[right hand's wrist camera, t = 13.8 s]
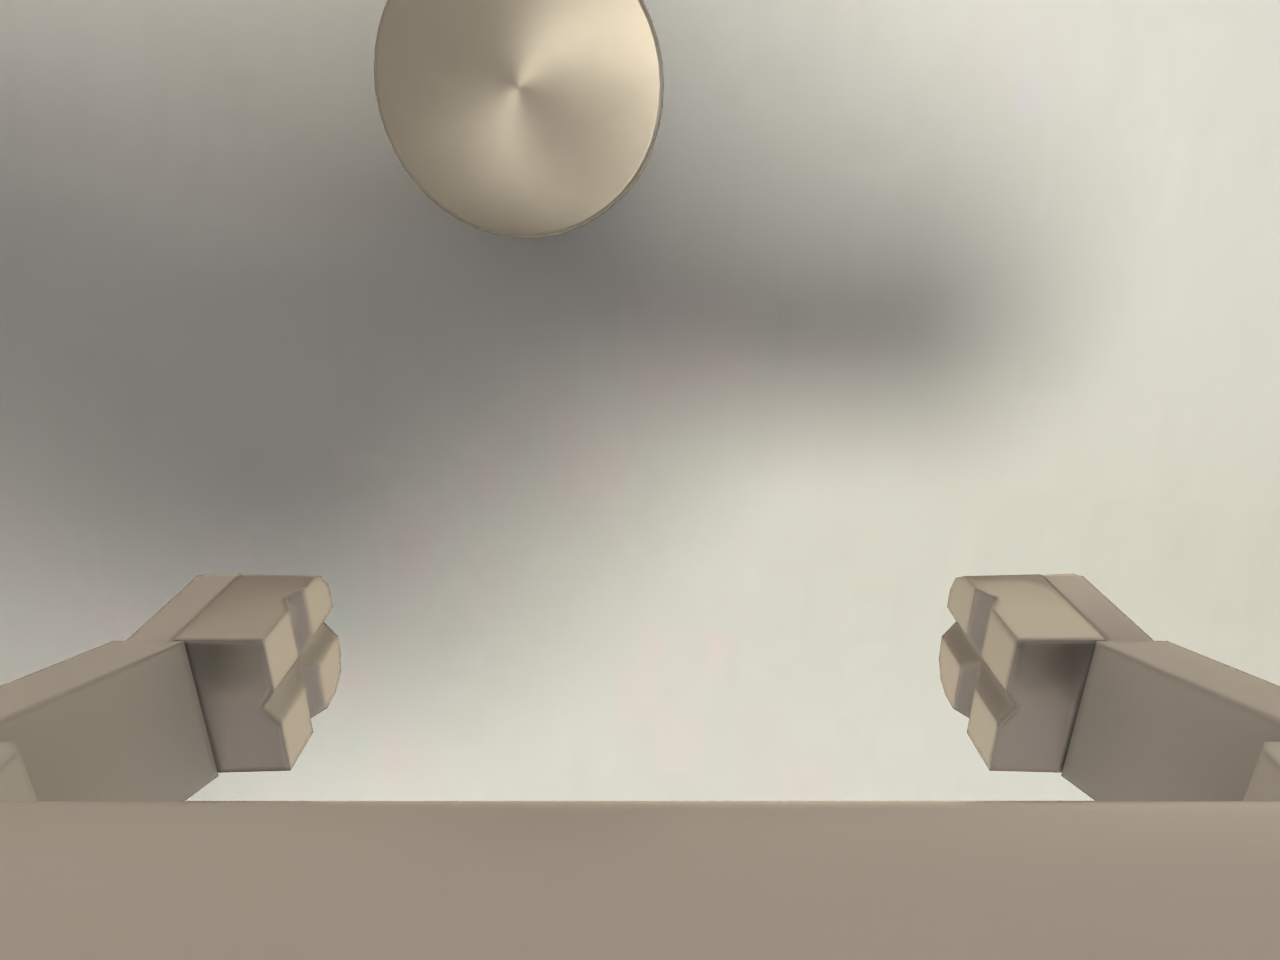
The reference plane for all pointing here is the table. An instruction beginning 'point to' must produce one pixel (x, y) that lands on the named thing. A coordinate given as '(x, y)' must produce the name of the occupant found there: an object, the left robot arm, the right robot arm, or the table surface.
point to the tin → (520, 106)
